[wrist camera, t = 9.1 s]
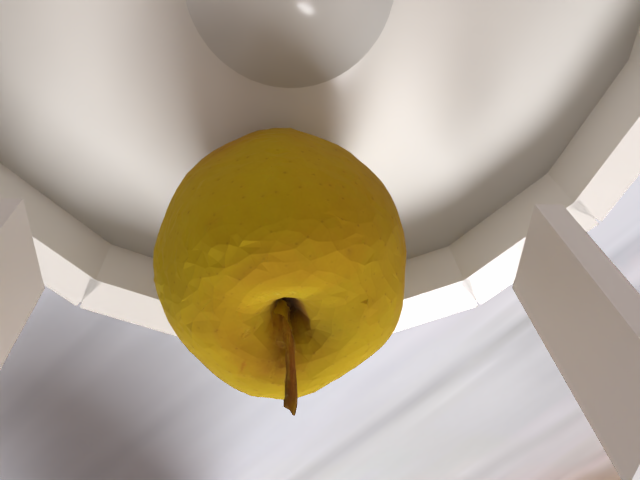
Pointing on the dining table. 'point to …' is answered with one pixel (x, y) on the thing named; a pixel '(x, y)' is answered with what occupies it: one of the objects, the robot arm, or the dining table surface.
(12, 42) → the ring tray
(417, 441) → the dining table surface
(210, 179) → the apple
